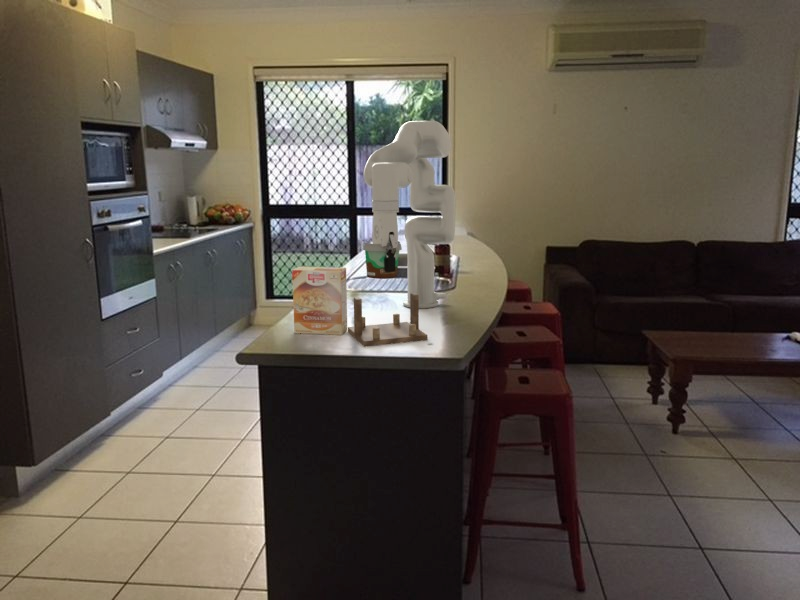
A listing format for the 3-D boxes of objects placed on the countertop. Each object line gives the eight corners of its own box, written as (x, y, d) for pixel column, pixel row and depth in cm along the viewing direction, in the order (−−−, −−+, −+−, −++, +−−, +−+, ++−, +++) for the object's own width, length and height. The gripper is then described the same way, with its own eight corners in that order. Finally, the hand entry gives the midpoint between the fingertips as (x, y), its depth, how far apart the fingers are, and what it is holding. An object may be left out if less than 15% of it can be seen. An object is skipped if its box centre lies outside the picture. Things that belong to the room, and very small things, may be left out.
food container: (375, 280, 185) (375, 245, 183) (362, 277, 190) (363, 242, 188) (409, 277, 193) (410, 242, 191) (396, 274, 198) (397, 240, 196)
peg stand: (406, 326, 207) (406, 288, 205) (427, 340, 191) (427, 299, 189) (348, 332, 201) (347, 293, 198) (364, 346, 185) (363, 304, 183)
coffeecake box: (293, 333, 199) (291, 269, 195) (300, 327, 206) (298, 265, 202) (342, 335, 197) (340, 270, 193) (347, 329, 204) (346, 266, 200)
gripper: (364, 205, 195) (365, 266, 199) (382, 209, 179) (383, 275, 183) (388, 205, 197) (388, 265, 201) (408, 208, 182) (408, 273, 185)
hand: (386, 269), depth 192 cm, fingers closed on food container, 5 cm apart
